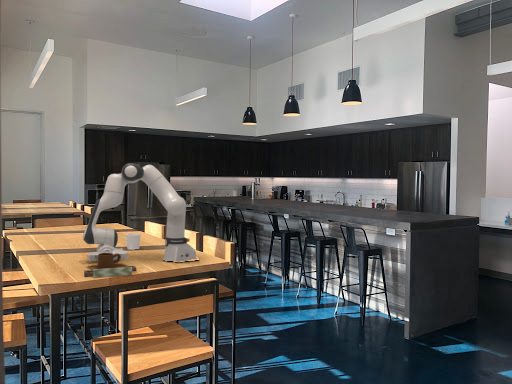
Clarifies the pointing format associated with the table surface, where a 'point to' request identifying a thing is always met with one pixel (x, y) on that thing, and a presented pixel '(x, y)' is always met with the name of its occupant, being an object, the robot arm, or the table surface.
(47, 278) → the table surface
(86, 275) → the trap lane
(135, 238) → the mug
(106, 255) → the mug
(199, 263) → the table surface
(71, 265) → the table surface
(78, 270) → the table surface
